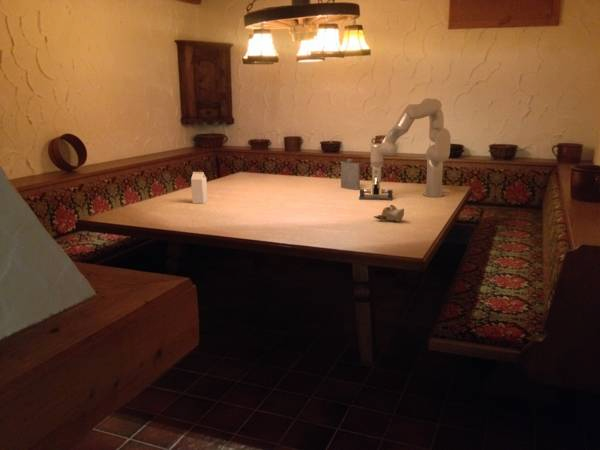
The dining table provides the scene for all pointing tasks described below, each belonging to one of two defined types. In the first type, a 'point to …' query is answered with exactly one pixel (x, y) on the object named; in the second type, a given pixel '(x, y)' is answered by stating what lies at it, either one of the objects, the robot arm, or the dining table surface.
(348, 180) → the hip flask
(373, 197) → the shaft rig
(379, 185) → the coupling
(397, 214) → the ceramic sculpture
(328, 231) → the dining table surface
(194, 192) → the milk carton
